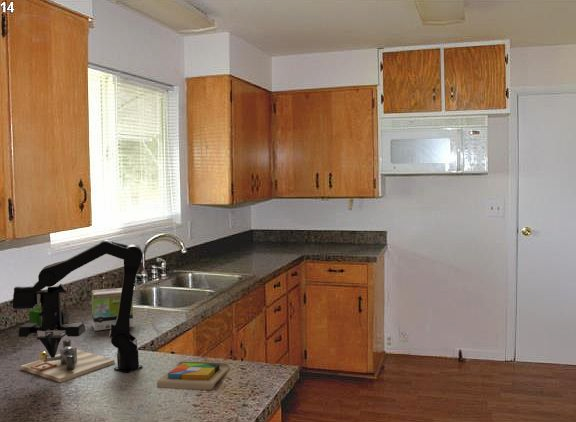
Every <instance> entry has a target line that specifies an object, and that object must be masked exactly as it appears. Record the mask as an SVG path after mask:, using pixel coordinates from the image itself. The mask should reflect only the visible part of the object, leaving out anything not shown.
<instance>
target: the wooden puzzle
mask: <svg viewBox="0 0 576 422" xmlns="http://www.w3.org/2000/svg"><path fill="white" fill-rule="evenodd" d="M229 370H230V365H229V363H228V362H221V361H220V362H218V361H217V362H216V361H189V360H188V361H186V360H185V361H184V360H181V361H179V362H178V363H177V364H176V365H175V367H174V368H172V369H171V370H169V371H168V372H167V373H165V374H164V375H162V376H161V377H160V378H159V379H157V382H156V385H157V388H161V389H162V388H163V389H183V390H202V391H204V390H207V391H211V390H213V389H214V388H215V386H216V384H217V383H218V382H219V381H220V380H221V379H222V378H223V377H224V376H225V374H227V373H228V372H229Z"/></svg>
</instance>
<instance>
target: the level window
mask: <svg viewBox="0 0 576 422" xmlns="http://www.w3.org/2000/svg"><path fill="white" fill-rule="evenodd" d="M44 364H49V365H52V366H49V367H46V365H44ZM41 365H43V366H42V367H46V368H43V369H40V368H37V367H38V366H41ZM55 366H57V365H56V364H53V363H49V362H44V363H41V364H38V365H35V366H31V368H33V369H36V370H39V371H43V370H46V369H49V368H52V367H55Z"/></svg>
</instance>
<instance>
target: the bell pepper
mask: <svg viewBox="0 0 576 422" xmlns="http://www.w3.org/2000/svg"><path fill="white" fill-rule="evenodd" d="M28 311H29V312H28V318H29V323H38V325H39V326H41V325H42V324H41V316H39V313H40V312H41V302H40V303H39V304H38V306H37V307H36V308H33V309H29V310H28Z"/></svg>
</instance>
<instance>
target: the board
mask: <svg viewBox="0 0 576 422" xmlns="http://www.w3.org/2000/svg"><path fill="white" fill-rule="evenodd" d="M55 356H60V353H58V354H57V353H56V355H55ZM48 362H49V363H53V364H56V365H57V366H55V367H52V368H49V369H46V370H43V371H39V370H36V369H33V368H31V366H35V365H38V364H41V363H44V361H42V360H40V359H38V360H36V361H35V360H34V361H31V362H29V363H25V364H23V365H20V370H21V371H25V372H28V373H30V374H34V375H37V376H40V377H42V378H45V379H49V380H52V381H55V382H59V383H63V382H65V381H68V380H71V379H74V378H77V377H80V376H82V375H85V374H89V373H91V372H93V371H96V370H100V369H102V368H105V367H108V366H112V365H114V364H115V363H116V362H115V359H114V358H109V357H106V356H102V355H98V354H96V353H91V352H88V351H83V350H80V349H77V362H75V369H74V370H71V371H68V370H67V367H66V364H61V360H55V361H48ZM44 365H46V367H49V366H52V365H49V364H44ZM42 366H43V365H41V366H38V367H37V368H40V369H43V368H46V367H42Z"/></svg>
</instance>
